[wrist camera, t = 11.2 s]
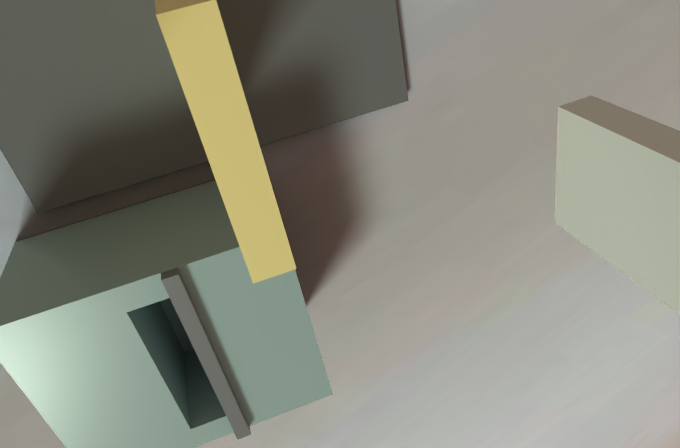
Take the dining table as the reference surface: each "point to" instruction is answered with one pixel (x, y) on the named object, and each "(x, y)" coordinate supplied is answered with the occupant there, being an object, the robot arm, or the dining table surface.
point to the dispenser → (154, 328)
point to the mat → (174, 84)
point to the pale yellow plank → (226, 131)
